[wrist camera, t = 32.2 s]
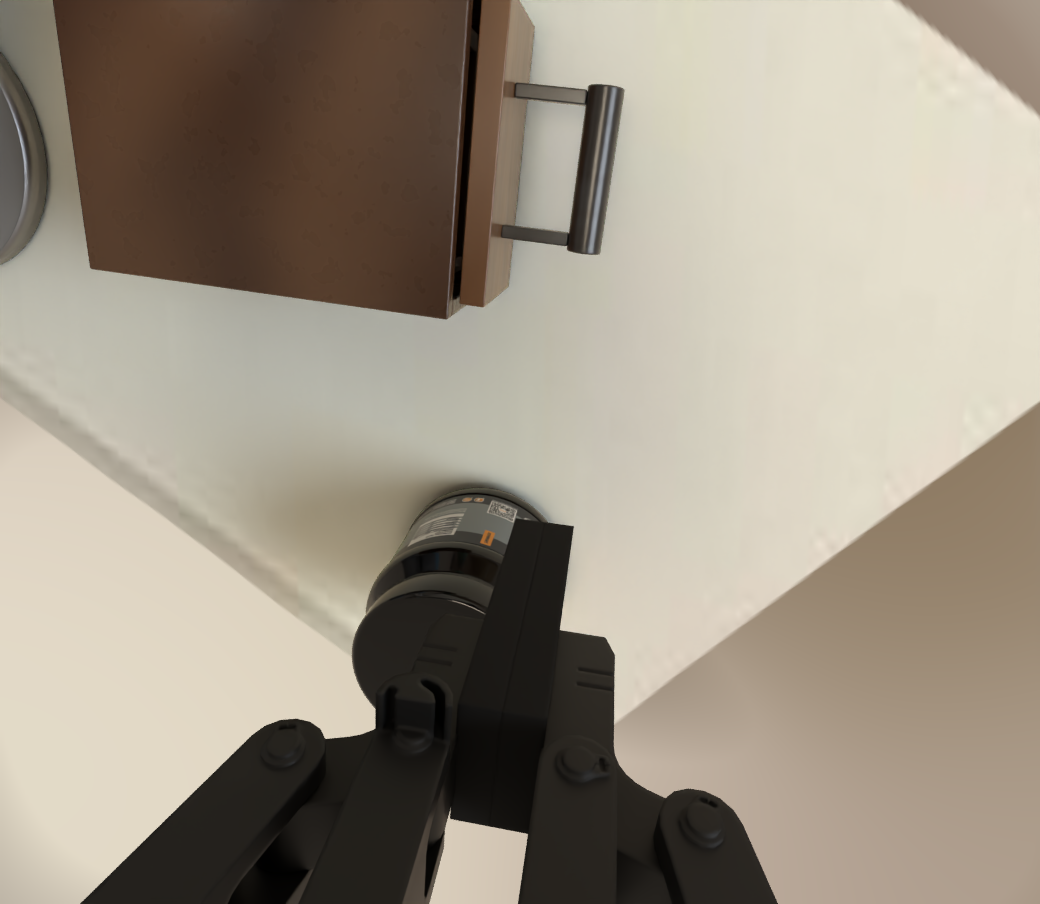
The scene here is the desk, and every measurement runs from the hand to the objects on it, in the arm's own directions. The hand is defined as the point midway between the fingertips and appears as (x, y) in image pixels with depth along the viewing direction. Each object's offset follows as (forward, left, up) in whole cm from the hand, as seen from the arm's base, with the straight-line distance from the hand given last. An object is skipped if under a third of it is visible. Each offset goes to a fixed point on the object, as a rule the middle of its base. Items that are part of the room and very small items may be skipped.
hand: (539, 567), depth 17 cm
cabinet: (-18, +4, -23) cm, 29 cm away
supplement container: (0, -15, -23) cm, 27 cm away
